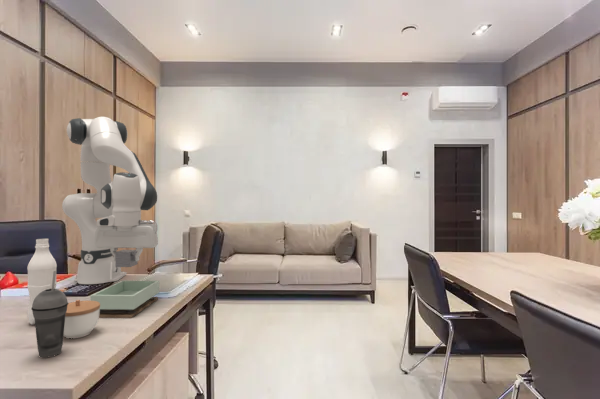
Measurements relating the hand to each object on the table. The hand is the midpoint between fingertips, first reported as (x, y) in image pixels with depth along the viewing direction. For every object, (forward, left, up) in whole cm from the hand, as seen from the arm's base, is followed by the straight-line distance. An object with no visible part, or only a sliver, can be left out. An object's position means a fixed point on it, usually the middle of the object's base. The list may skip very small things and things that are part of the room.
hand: (126, 260), depth 120 cm
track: (0, -3, -16) cm, 16 cm away
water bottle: (+14, -18, -16) cm, 28 cm away
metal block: (0, 0, -2) cm, 2 cm away
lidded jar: (+23, -2, -16) cm, 28 cm away
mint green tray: (0, 0, -14) cm, 15 cm away
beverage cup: (+35, -1, -16) cm, 39 cm away
